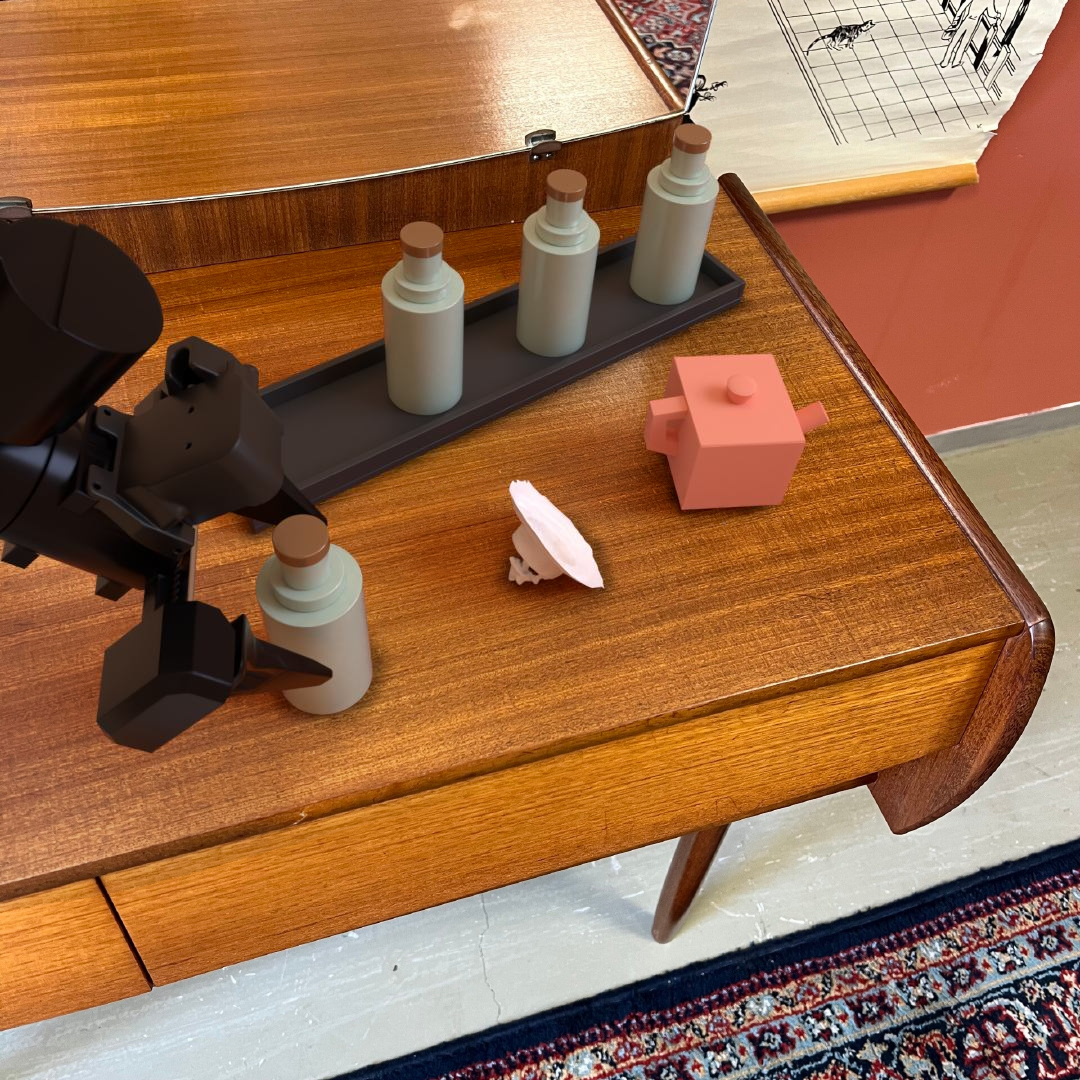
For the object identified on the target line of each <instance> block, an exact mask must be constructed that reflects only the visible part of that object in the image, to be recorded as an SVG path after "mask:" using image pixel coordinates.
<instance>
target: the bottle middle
mask: <svg viewBox="0 0 1080 1080" xmlns="http://www.w3.org/2000/svg"><path fill="white" fill-rule="evenodd" d="M587 187H588V181H587V178H586V176H585V175H583V174H582V173H580V172H578V171H577V170H573V169H567V168H565V169H564V168H562V169H556V170H553V171H551V172H549V174H548V175H547V177H546V183H545V191H546V200H545V201H546V202H545V205H542V206H541V207H540V208H539V209H538V210H537V211H535V212H533V213H531V214H530V215H529V216H528V217H527V218H526V219H525V221H524V223H523V226H522V239H521V253H520V268H519V280H518V282H519V293H518V307H517V321H516V336H517V338H518V340H519V342H520V343H521V344H522V345H523V347H525V348H526V349H527V350H529V351H531V352H533V353H535V354H538V355H541V356H546V357H561V356H566V355H569V354H572V353H574V352H575V351H577V350H578V349H579V348H580V347H581V346H582V345H583V343H584V341H585V337H586V331H587V324H588V317H589V310H590V303H591V296H592V289H593V282H594V275H595V268H596V261H597V254H598V249H599V247H600V239H601V231H600V228H599V226H598V224H597V223H596V221H594V219H592V218H591V217H590V216H589V214H588V212H587V211H586V210H585V209H584V208H583V206H584V201H585V200H584V198H585V196H586V194H587V189H588V188H587Z"/></svg>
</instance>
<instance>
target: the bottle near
mask: <svg viewBox="0 0 1080 1080" xmlns="http://www.w3.org/2000/svg"><path fill="white" fill-rule="evenodd" d="M444 237H445V235H444V232H443V229H442V228H441V227H439V226H438V225H436V224H435V223H432V222H429V221H413V222H410V223H407V224H406V225H404V226H403V227H402V228H401V230H400V232H399V247H400V249H401V251H402V252H401V253H402V254H401V255H402V256H401V257H402V259H401V260H400V261H399V262H397V263H396V264H395V265H394V266H393V267H392V268H390V269H389V270H388V271H387V272H386V273H385V274H384V276H383V278H382V280H381V283H380V290H381V291H380V292H381V309H382V323H383V325H382V326H383V336H384V337H383V338H384V341H385V357H386V372H387V388H388V394H389V397H390V399H391V400H392V402H393V403H394V404H395V405H396V406H397V407H399V408H400V409H402V410H404V411H406V412H408V413H411V414H415V415H435V414H439V413H443V412H445V411H447V410H449V409H451V408H452V407H453V406H454V405H455V404H456V403H457V402H458V401H459V399H460V398H461V395H462V391H463V341H464V305H465V283H464V280H463V278H462V276H461V275H460V274H459V272H457V270H455V269H454V268H452V267H451V266H450V265H449V264H448V263H447V262H446V261H445V260H444V259H443V249H444V244H445V243H444V242H445V241H444Z"/></svg>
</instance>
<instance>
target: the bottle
mask: <svg viewBox="0 0 1080 1080" xmlns="http://www.w3.org/2000/svg"><path fill="white" fill-rule="evenodd" d="M330 538H331V537H330V532H329V528H328V526H326V525H325V524H324V523H323V522H322V521H321V520H320V519H318V518H316V517H314V516H311V515H294V516H291V517H288V518H286V519H284V520H283V521H281V522H280V523H279V524H278V525H277V526H275V527H274V529H273V532H272V534H271V543H272V548H273V552H274V553H273V554H272V555H271V556H270V557H268V559H267V560H265V562H264V564H262V566H261V568H260V569H259V571H258V573H257V576H256V580H255V587H254V591H255V596H256V600H257V605H258V607H259V612H260V615H261V619H262V624H263V627H264V630H265V634H266V638H267V642H269V643H272V644H274V645H277V646H280V647H282V648H285V649H288V650H290V651H293V652H296V653H298V654H301V655H304V656H306V657H309V658H311V659H314V660H316V661H317V662H319V663H321V664H323V665H325V666H327V667H328V668H330V669H332V671H333V677H332V678H331V679H330V680H328V681H327V682H325V683H324V684H322V685H320V686H314V687H307V688H299V689H292V690H284V691H281V692H282V694H283V697H285V699H286V700H287V702H288V703H290V704H291V706H293V707H295V708H296V709H298V710H300V711H302V712H304V713H308V714H311V715H324V716H325V715H332V714H337V713H340V712H342V711H346V710H347V709H349V708H351V707H352V706H354V705H355V704H357V703H358V702H359V701H360V700H361V699H362V698H363V697H364V696H365V694H366V692H367V691H368V690H369V688H370V685H371V683H372V679H373V673H374V670H373V660H372V650H371V642H370V633H369V632H370V631H369V623H368V615H367V607H366V598H365V589H364V580H363V572H362V570H361V567H360V565H359V563H358V561H357V560H356V559H355V558H354V556H352V554H350V552H348V551H347V550H345V549H344V548H343V547H340V546H339V545H336V544H333V543H331V539H330Z"/></svg>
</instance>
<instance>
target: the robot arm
mask: <svg viewBox="0 0 1080 1080" xmlns="http://www.w3.org/2000/svg"><path fill="white" fill-rule="evenodd" d="M163 313H164V312H163V307H162V304H161V301H160V299H159V296H158V294H157V291H156V290H155V288H154V286H153V284H152V283H151V281H150V280H149V278H148V277H147V274H145V272H144V271H143V270H142V269H141V268H140V266H139V265H138V264H137V263H136V261H135V260H134V259H133V258H132V257H131V256H130V255H129V254H127V253H126V252H125V251H124V250H123V248H121V247H120V246H119V245H117V244H116V243H115V242H114V241H112V240H111V239H110V238H108V237H107V236H105V235H104V234H102V233H101V232H100V231H98V230H97V229H94V228H92V227H91V226H89V225H87V224H85V223H78V224H74V223H72V222H69V221H66V220H64V219H61V218H55V217H51V216H44V215H35V216H24V217H23V218H19V219H17V220H14V221H13V222H11V223H10V222H8V221H7V220H5V219H3V218H1V217H0V541H2V542H4V543H3V547H2V551H1V557H0V562H3V563H4V564H8V565H11V566H14V567H16V568H19V569H22V570H26V569H27V568H28V567H29V566H30V565H32V564H33V563H34V561H36V560H37V559H38V558H39V557H40V556H43V557H46V558H49V559H51V560H54V561H57V562H59V563H62V564H64V565H67V566H70V567H72V568H75V569H78V570H81V571H83V572H86V573H89V574H92V575H94V576H96V581H95V588H94V589H95V590H94V596H98V597H101V598H103V599H106V600H109V601H112V602H115V603H117V602H118V601H119V600H120V599H121V598H122V597H124V596H125V595H127V593H128V592H130V591H131V590H132V589H134V590H137V591H139V592H143V599H142V600H143V601H142V611H141V619H140V621H139V622H138V623H136V625H135V626H134V627H132V628H131V629H130V630H128V631H126V633H124V634H123V635H121V637H119V638H118V639H117V640H115V641H114V642H113V643H112V644H111V645H109V647H107V648H105V650H104V652H103V660H102V669H101V677H100V686H99V694H98V702H97V711H96V718H95V722H96V724H97V726H98V727H99V728H100V731H101V732H102V734H103V735H104V737H106V738H107V739H108V740H110V741H111V742H112V743H114V744H116V745H117V746H121V747H125V748H130V749H133V750H137V751H141V752H145V753H148V754H153V753H154V752H156V751H158V750H159V749H161V748H162V747H163V746H164V745H166V744H168V743H169V742H172V740H173V739H175V738H177V737H178V736H180V735H181V734H183V733H184V732H186V731H187V730H189V729H190V728H191V727H192V726H194V725H196V724H197V723H199V722H200V721H201V720H203V719H204V718H206V717H208V716H209V715H210V714H212V713H213V712H215V711H216V710H218V709H220V708H221V707H222V706H224V705H225V704H226V702H227V700H229V699H234V698H239V697H246V696H254V695H261V694H267V693H275V692H282V691H284V690H292V689H299V688H307V687H314V686H320V685H322V684H324V683H325V682H327V681H328V680H330V679H331V678H332V677H333V671H332V669H330V668H328V667H327V666H325V665H323V664H321V663H319V662H317V661H316V660H314V659H311V658H309V657H306V656H304V655H301V654H298V653H296V652H293V651H290V650H288V649H285V648H282V647H280V646H277V645H274V644H272V643H269V642H268V641H267V640H264V639H262V638H259V637H256V636H255V635H254V633H253V631H252V628H251V625H250V623H249V619H248V617H247V615H246V614H245V613H241V614H240V615H239V616H237V617H235V618H234V619H233V620H232V621H229V620H228V618H227V617H226V615H225V614H224V613H223V611H222V610H221V608H219V607H216V606H214V605H211V604H208V603H205V602H203V601H201V600H195V589H196V573H197V558H198V544H199V543H198V541H199V527H200V525H201V524H204V523H206V522H209V521H212V520H214V519H217V518H219V517H222V516H225V515H227V514H234V515H237V516H240V517H243V516H244V517H247V518H250V519H254V520H257V521H261V522H264V523H267V524H271V525H273V526H275V527H276V526H277V525H278V524H279V523H280V522H281V521H283V520H284V519H286V518H288V517H291V516H294V515H311V516H314V517H316V518H318V519H320V520H321V521H322V522H323V523H324V524H325V525H326V526H327V527H328V525H329V524H328V518H327V517H326V516H325V514H323V513H322V512H321V511H320V510H319V509H318V507H317V506H316V505H315V506H314V505H313V504H312V503H311V502H310V501H309V500H308V499H307V498H306V497H305V495H304V494H303V493H302V492H301V491H300V490H299V489H298V488H297V487H296V486H295V485H294V484H293V483H292V482H291V481H290V480H289V479H288V478H287V477H286V476H285V475H284V469H283V466H282V464H281V436H282V435H283V434H284V425H283V422H282V420H281V419H280V418H279V417H278V416H277V415H276V414H275V413H274V412H273V411H272V409H271V408H270V407H269V406H268V405H267V404H266V403H265V402H264V401H263V400H262V399H261V397H260V396H259V395H258V390H259V389H260V388H259V383H260V379H259V378H260V372H259V369H258V367H256V365H253V364H250V363H243V364H242V362H241V361H240V360H239V359H238V358H237V357H236V356H235V355H234V354H233V353H232V352H231V351H228V350H227V349H225V348H223V347H220V346H218V345H215V344H213V343H212V342H209V341H207V340H205V339H203V338H201V337H198V336H197V335H191V336H187V337H186V338H183V339H181V340H179V341H177V342H174V343H172V344H169V345H168V346H167V348H166V353H165V364H164V373H163V375H164V376H163V377H164V378H163V379H162V380H161V381H160V382H159V383H158V384H157V385H156V386H155V387H154V388H153V389H152V390H151V391H150V392H149V393H147V395H145V396H144V398H143V399H142V400H141V401H139V403H138V404H136V405H135V406H134V407H133V413H132V414H131V413H125V412H122V411H120V410H118V409H116V408H113V407H112V406H109V405H108V404H101V405H99V406H98V405H96V404H97V402H98V401H100V399H101V398H103V396H104V395H105V394H107V392H108V391H109V390H110V389H111V388H112V387H114V385H115V384H116V383H117V382H118V381H119V380H120V379H121V378H122V377H123V376H125V374H126V373H128V371H130V369H131V368H132V367H134V365H135V364H136V363H137V362H138V361H140V359H141V358H143V356H145V354H146V353H148V351H149V350H150V349H151V348H152V347H153V346H154V345H155V344H156V343H157V342H158V341H159V339H160V337H161V335H162V332H163V331H164V324H165V322H164V321H165V320H164V314H163ZM244 517H243V518H244Z"/></svg>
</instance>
